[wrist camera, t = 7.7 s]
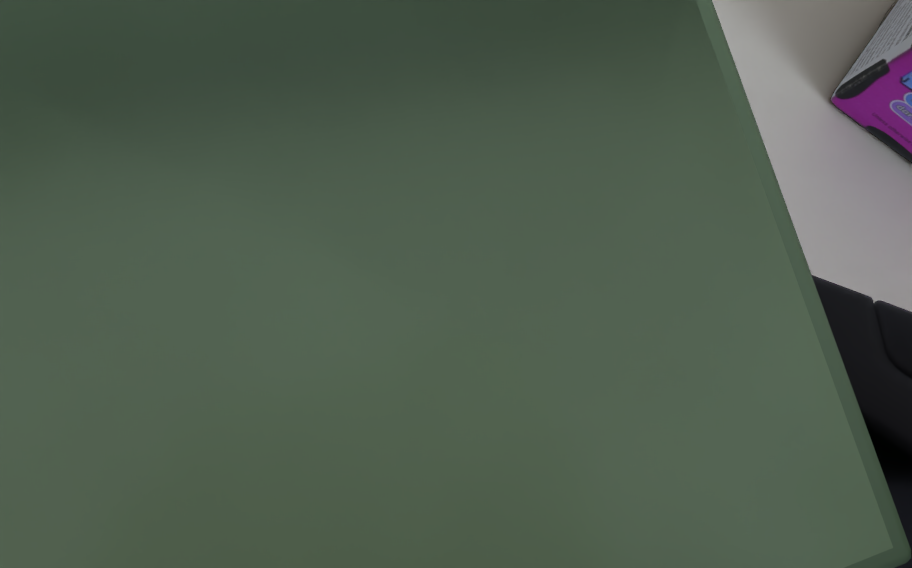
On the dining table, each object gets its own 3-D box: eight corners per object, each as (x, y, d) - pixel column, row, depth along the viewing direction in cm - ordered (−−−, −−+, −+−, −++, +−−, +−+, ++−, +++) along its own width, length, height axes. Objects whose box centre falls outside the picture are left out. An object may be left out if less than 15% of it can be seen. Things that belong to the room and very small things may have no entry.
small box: (528, 452, 13) (922, 562, 4) (201, 566, 12) (-149, 1003, 3) (428, 144, 14) (597, -331, 5) (105, 233, 13) (-425, -143, 4)
